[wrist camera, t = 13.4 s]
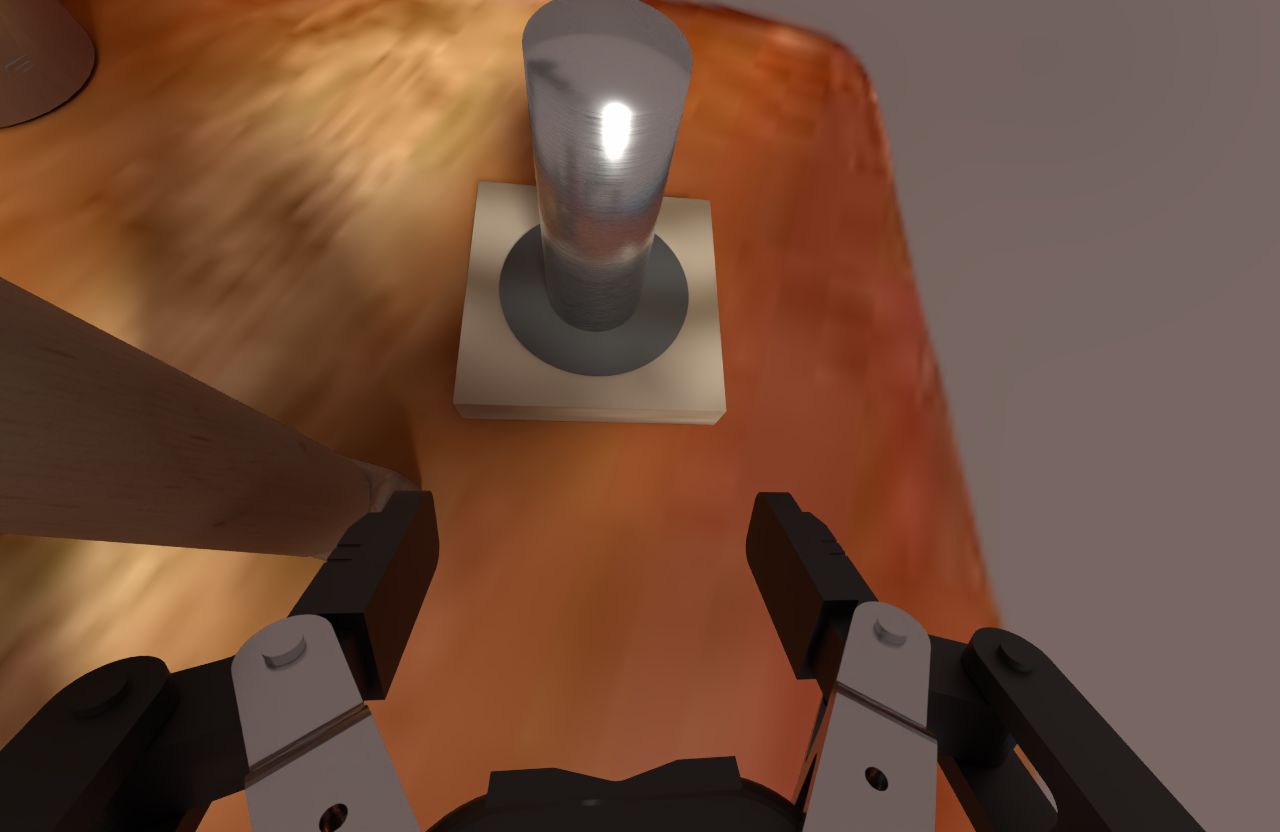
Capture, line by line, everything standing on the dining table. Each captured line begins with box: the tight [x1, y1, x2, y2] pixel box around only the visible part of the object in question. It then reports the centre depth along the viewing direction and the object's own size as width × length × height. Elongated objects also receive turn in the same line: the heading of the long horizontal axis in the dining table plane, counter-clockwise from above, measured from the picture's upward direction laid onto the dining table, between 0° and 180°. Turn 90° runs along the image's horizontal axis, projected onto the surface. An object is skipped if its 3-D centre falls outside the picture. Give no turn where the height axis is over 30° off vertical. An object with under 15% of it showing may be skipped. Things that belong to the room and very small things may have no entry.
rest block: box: [453, 181, 726, 425], centre depth 24 cm, size 12×12×2 cm
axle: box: [522, 0, 693, 332], centre depth 17 cm, size 4×4×11 cm
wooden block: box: [0, 277, 421, 561], centre depth 12 cm, size 4×11×18 cm, turn 75°
